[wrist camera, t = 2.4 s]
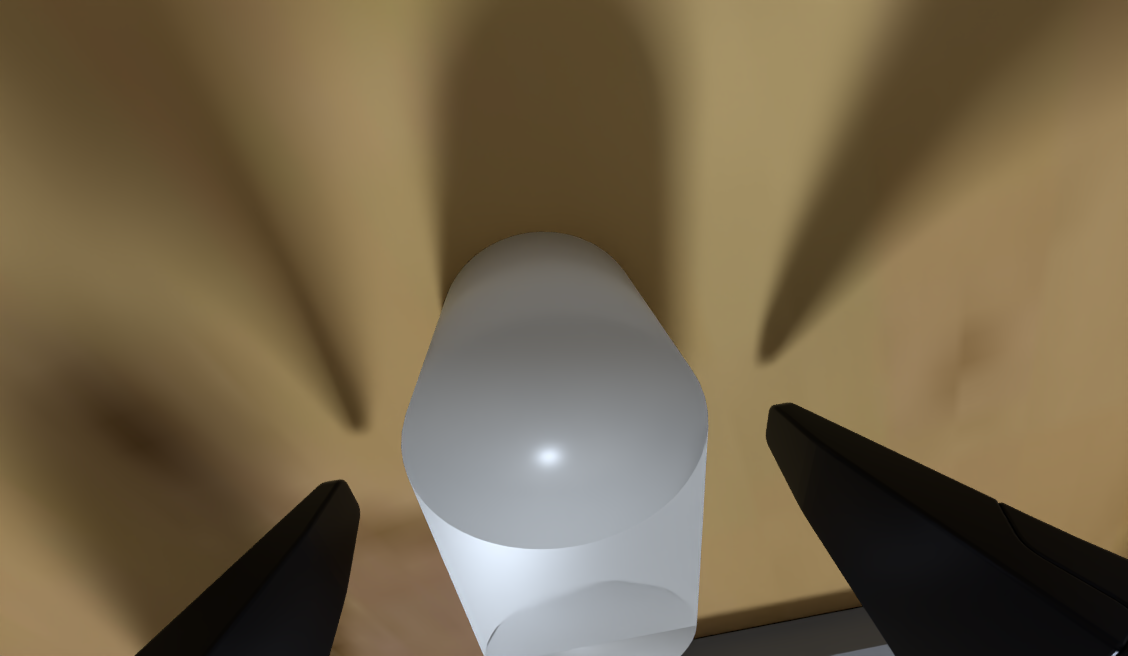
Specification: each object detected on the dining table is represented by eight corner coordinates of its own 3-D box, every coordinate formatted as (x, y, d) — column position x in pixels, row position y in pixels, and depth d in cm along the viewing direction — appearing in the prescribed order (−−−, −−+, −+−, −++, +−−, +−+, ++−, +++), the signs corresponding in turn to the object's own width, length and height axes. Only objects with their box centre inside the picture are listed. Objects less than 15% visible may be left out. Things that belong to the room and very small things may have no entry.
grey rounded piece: (634, 216, 8) (716, 289, 5) (649, 578, 13) (691, 722, 10) (417, 249, 8) (353, 346, 4) (523, 601, 13) (526, 755, 10)
